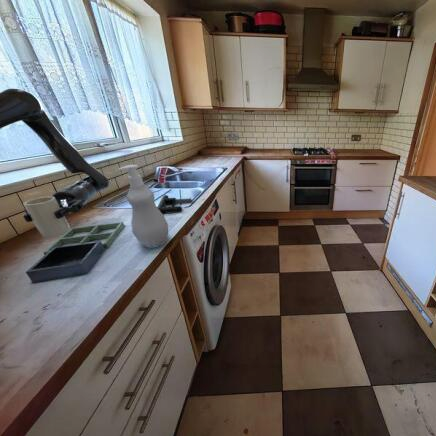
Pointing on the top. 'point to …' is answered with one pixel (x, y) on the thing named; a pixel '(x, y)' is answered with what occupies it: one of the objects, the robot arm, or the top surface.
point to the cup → (47, 216)
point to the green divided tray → (89, 235)
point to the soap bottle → (145, 212)
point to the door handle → (171, 201)
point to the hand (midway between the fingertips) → (42, 217)
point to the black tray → (66, 261)
